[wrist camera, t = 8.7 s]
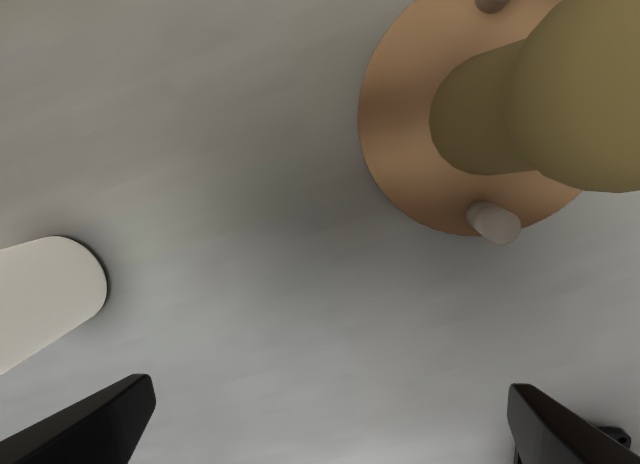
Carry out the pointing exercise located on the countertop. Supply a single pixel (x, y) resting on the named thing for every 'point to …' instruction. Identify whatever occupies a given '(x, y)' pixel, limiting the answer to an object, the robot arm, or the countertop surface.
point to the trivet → (414, 110)
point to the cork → (551, 101)
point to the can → (45, 294)
